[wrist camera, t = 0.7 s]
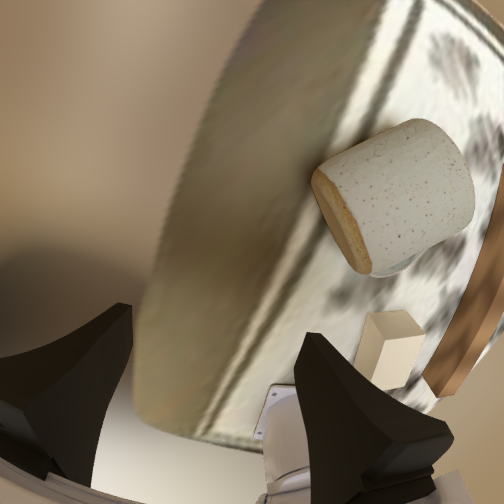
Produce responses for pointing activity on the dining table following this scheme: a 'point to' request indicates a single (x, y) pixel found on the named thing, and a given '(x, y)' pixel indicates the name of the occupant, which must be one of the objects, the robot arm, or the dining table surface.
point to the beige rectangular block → (388, 348)
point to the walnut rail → (473, 312)
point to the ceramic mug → (395, 196)
